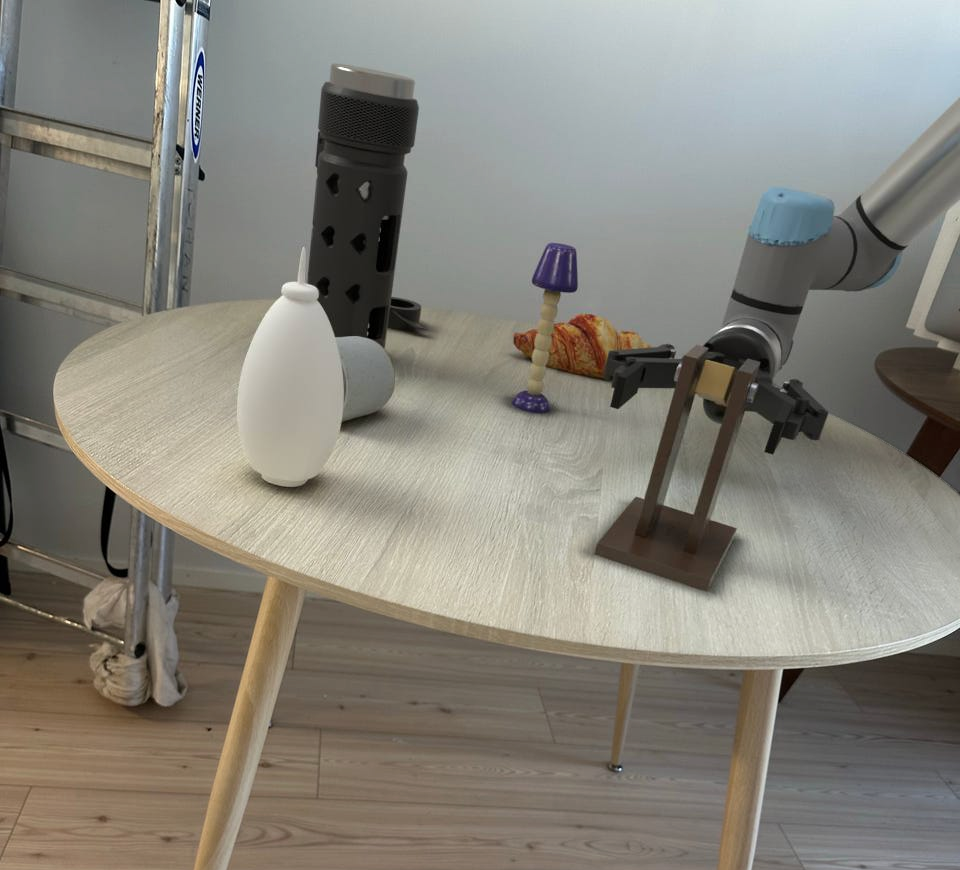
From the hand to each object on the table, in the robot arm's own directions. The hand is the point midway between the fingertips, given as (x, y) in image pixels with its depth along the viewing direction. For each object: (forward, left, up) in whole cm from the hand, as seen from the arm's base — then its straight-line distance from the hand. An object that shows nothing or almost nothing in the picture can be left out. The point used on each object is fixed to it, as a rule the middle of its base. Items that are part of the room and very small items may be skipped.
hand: (694, 414), depth 84 cm
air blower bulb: (+27, +18, -10) cm, 34 cm away
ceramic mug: (+33, +1, -10) cm, 35 cm away
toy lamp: (+19, -18, -10) cm, 28 cm away
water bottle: (+41, -16, -10) cm, 45 cm away
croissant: (+18, -39, -10) cm, 45 cm away
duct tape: (+43, -34, -10) cm, 56 cm away
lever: (-2, +2, +1) cm, 3 cm away
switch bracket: (-2, +7, -9) cm, 12 cm away
